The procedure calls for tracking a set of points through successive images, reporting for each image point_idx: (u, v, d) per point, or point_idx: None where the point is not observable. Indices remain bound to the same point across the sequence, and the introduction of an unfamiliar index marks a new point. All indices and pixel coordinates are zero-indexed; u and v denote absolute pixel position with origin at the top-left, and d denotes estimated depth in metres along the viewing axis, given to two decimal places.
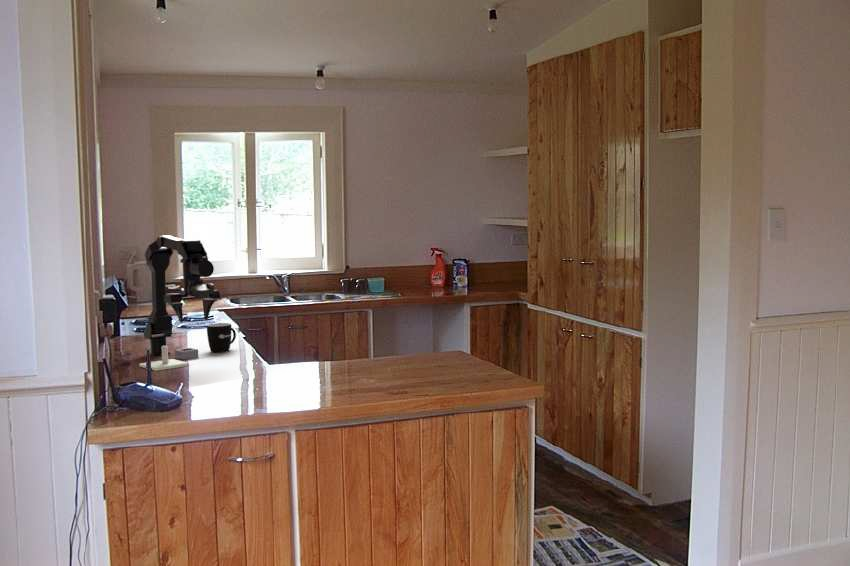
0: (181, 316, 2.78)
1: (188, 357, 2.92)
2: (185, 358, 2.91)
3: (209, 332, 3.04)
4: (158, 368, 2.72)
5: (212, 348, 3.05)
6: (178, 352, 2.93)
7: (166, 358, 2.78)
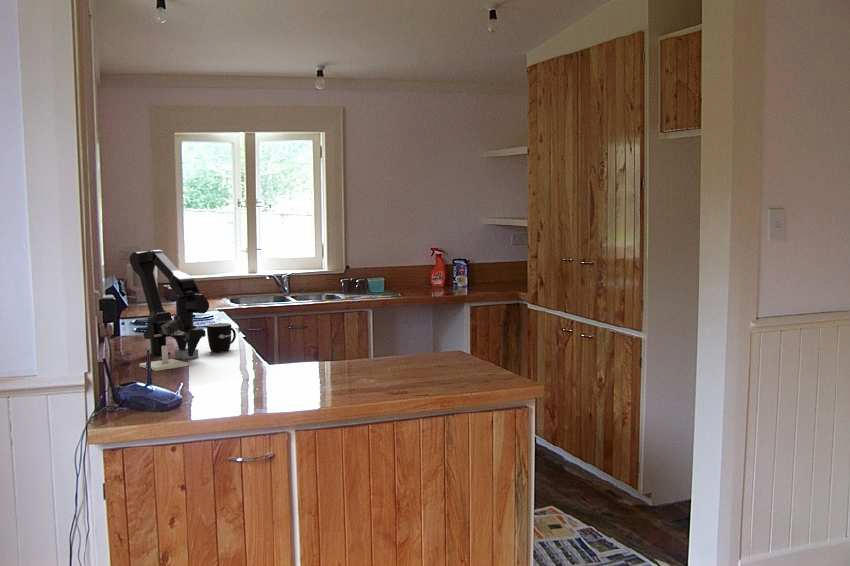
0: (179, 348, 2.97)
1: (188, 357, 2.92)
2: (185, 358, 2.91)
3: (209, 332, 3.04)
4: (158, 368, 2.72)
5: (212, 348, 3.05)
6: (178, 352, 2.93)
7: (166, 358, 2.78)
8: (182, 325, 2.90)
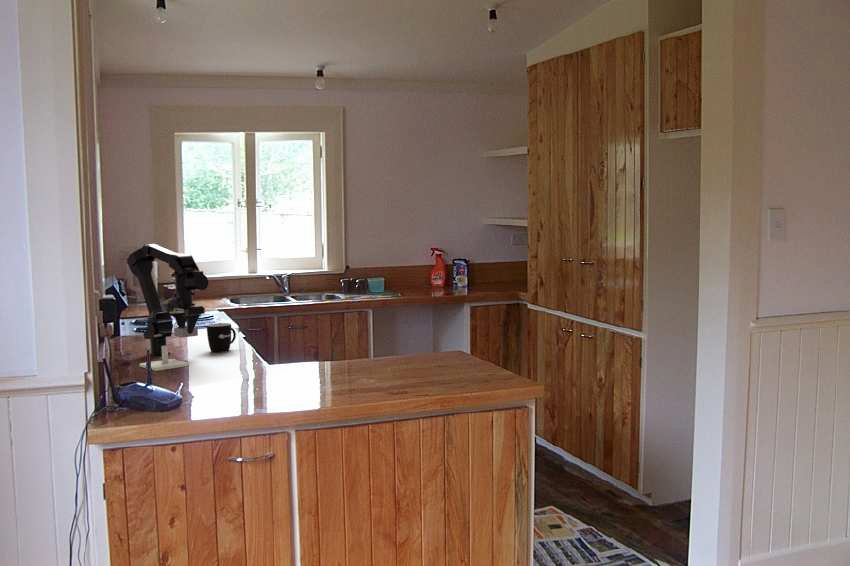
0: (178, 326, 2.96)
1: (187, 335, 2.91)
2: (184, 336, 2.91)
3: (209, 332, 3.04)
4: (158, 368, 2.72)
5: (212, 348, 3.05)
6: (177, 330, 2.92)
7: (166, 358, 2.78)
8: (181, 302, 2.89)
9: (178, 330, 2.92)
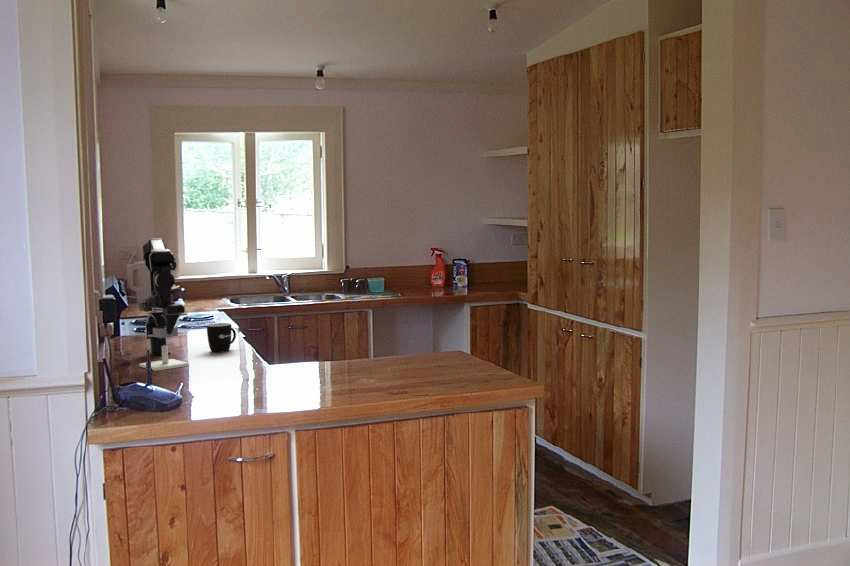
0: (157, 326, 2.80)
1: (167, 335, 2.76)
2: (163, 336, 2.75)
3: (209, 332, 3.04)
4: (158, 368, 2.72)
5: (212, 348, 3.05)
6: (156, 330, 2.76)
7: (166, 358, 2.78)
8: (160, 301, 2.74)
9: (157, 330, 2.76)
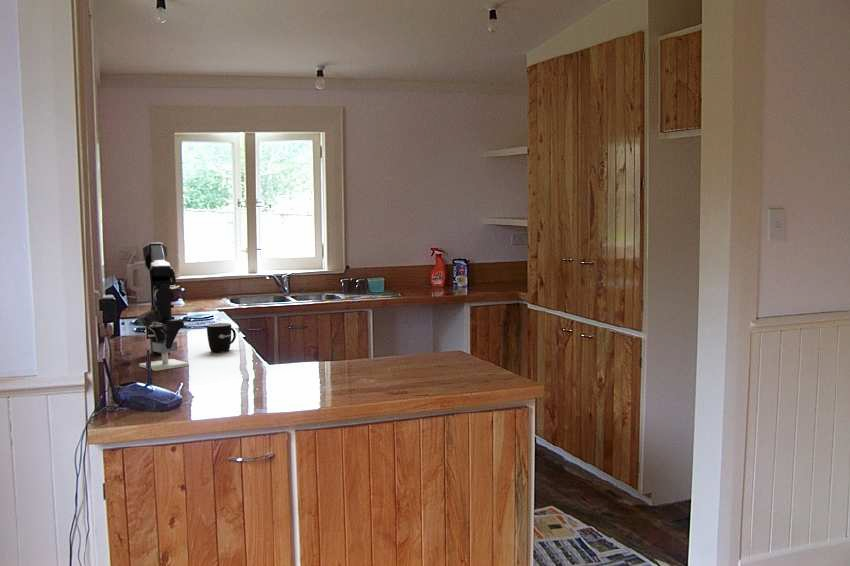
0: (157, 340, 2.80)
1: (166, 350, 2.76)
2: (163, 351, 2.75)
3: (209, 332, 3.04)
4: (158, 368, 2.72)
5: (212, 348, 3.05)
6: (156, 344, 2.76)
7: (166, 358, 2.78)
8: (159, 316, 2.73)
9: (156, 345, 2.76)
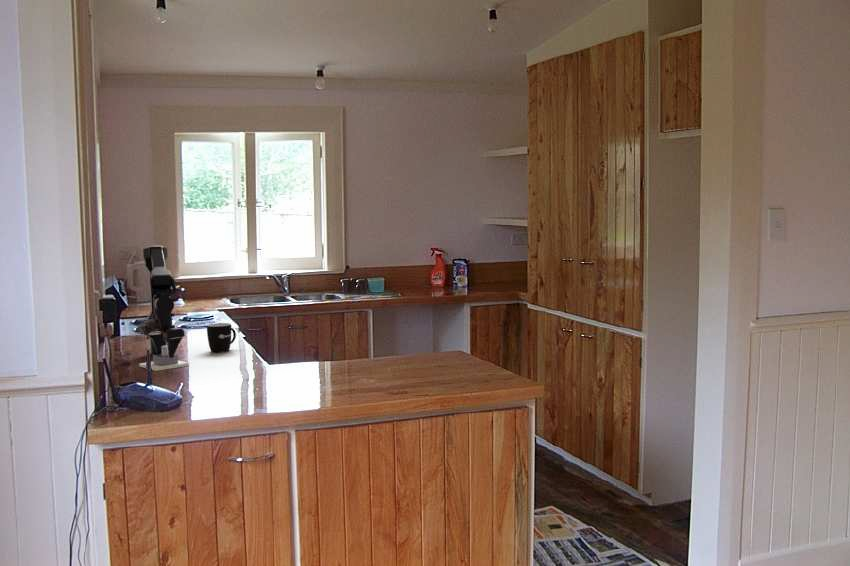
0: (155, 348, 2.81)
1: (167, 363, 2.76)
2: (164, 364, 2.75)
3: (209, 332, 3.04)
4: (158, 368, 2.72)
5: (212, 348, 3.05)
6: (156, 357, 2.77)
7: None
8: (160, 324, 2.74)
9: (157, 358, 2.76)
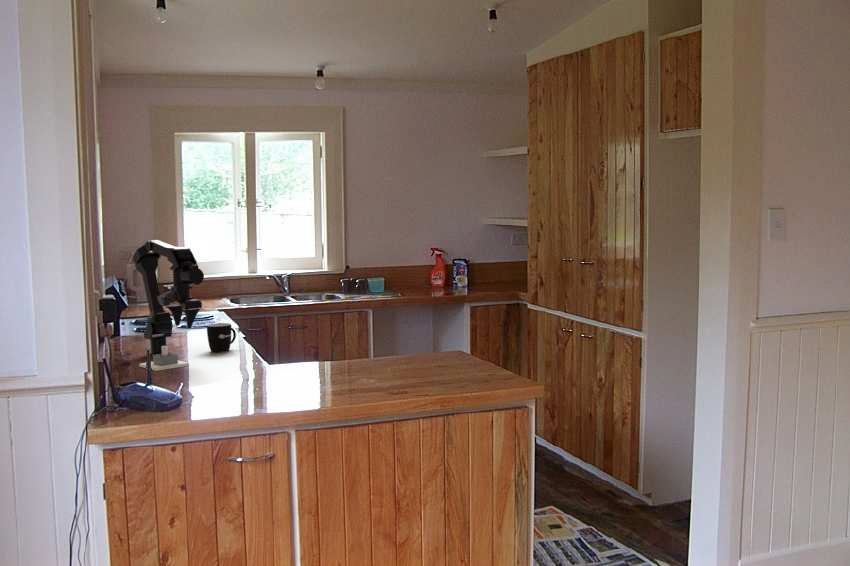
0: (174, 319, 2.94)
1: (167, 363, 2.76)
2: (164, 364, 2.75)
3: (209, 332, 3.04)
4: (158, 368, 2.72)
5: (212, 348, 3.05)
6: (156, 357, 2.77)
7: None
8: (178, 296, 2.86)
9: (157, 358, 2.76)
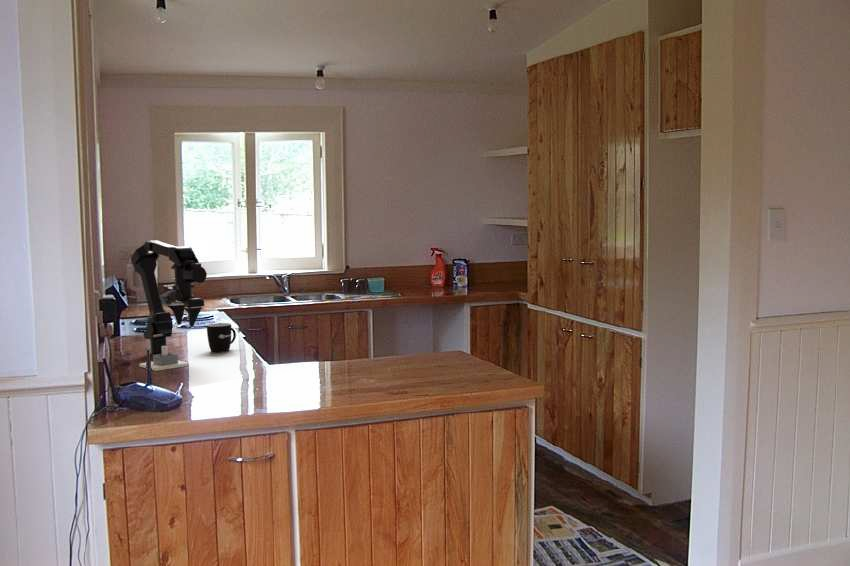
0: (176, 318, 2.95)
1: (167, 363, 2.76)
2: (164, 364, 2.75)
3: (209, 332, 3.04)
4: (158, 368, 2.72)
5: (212, 348, 3.05)
6: (156, 357, 2.77)
7: None
8: (181, 295, 2.87)
9: (157, 358, 2.76)
